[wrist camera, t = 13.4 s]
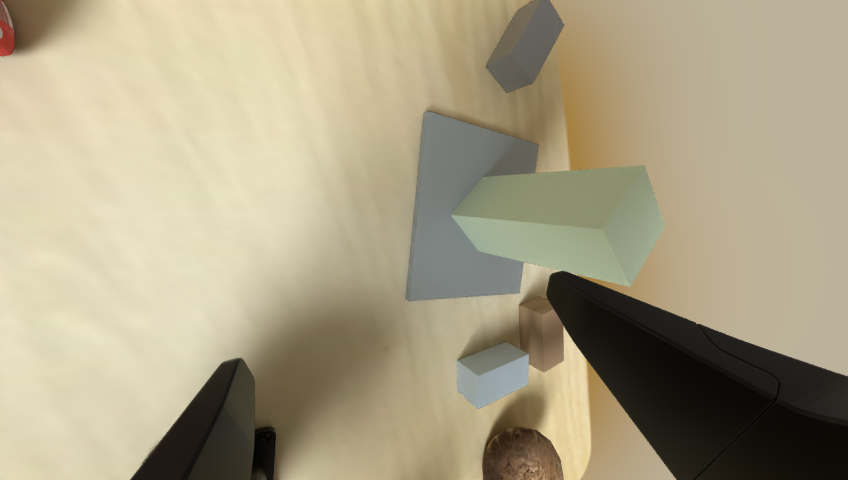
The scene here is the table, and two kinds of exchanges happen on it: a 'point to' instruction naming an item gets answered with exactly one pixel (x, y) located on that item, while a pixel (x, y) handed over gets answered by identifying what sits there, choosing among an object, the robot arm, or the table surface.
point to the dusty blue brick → (492, 374)
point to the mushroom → (521, 457)
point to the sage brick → (567, 220)
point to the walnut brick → (541, 334)
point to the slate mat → (442, 193)
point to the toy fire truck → (6, 31)
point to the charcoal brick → (525, 45)
